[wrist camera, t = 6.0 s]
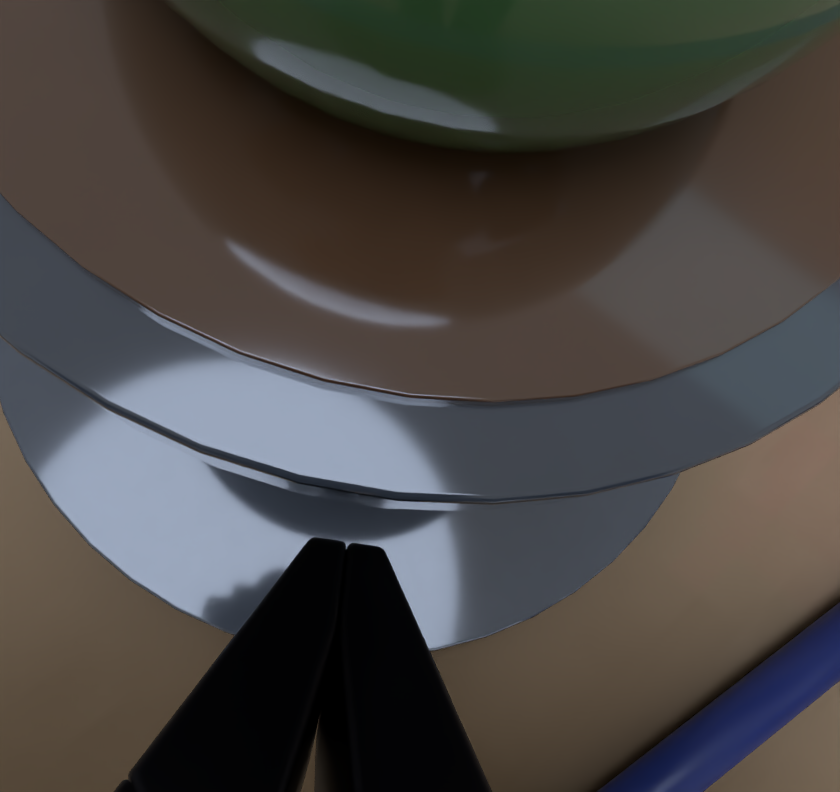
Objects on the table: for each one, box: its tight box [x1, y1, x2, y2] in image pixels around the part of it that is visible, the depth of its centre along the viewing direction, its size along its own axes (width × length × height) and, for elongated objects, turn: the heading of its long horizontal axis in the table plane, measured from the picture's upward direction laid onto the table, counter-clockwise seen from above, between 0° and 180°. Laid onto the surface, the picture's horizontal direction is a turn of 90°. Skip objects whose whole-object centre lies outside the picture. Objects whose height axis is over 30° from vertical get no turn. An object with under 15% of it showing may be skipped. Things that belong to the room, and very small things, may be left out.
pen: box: [597, 602, 840, 792], centre depth 15 cm, size 14×1×1 cm
